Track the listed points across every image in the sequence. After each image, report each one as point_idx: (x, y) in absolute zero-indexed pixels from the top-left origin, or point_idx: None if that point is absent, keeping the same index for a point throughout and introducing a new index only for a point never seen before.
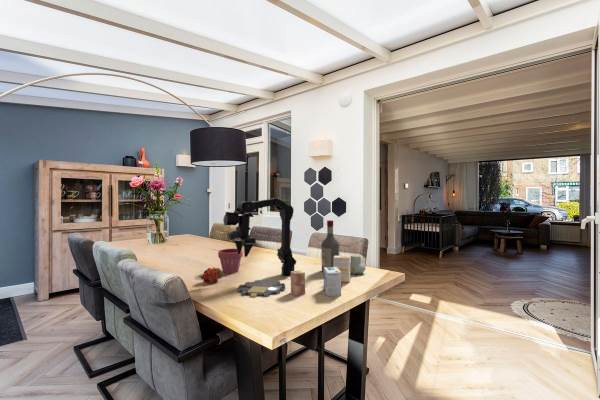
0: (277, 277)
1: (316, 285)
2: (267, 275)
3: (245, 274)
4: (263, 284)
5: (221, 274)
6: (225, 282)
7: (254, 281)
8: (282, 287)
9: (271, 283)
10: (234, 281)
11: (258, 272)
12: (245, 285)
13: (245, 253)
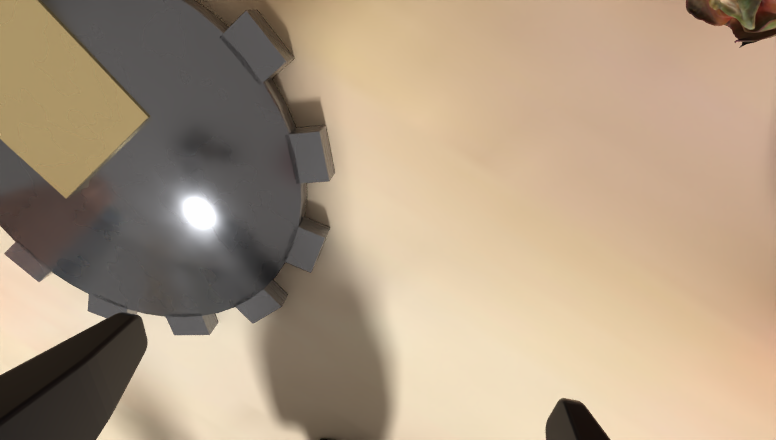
0: (340, 400)
1: None
2: (440, 395)
3: (628, 320)
4: (170, 217)
5: (712, 10)
6: (572, 18)
7: (297, 217)
8: (32, 262)
9: (163, 272)
10: (517, 118)
11: None
12: (227, 83)
13: (24, 374)
